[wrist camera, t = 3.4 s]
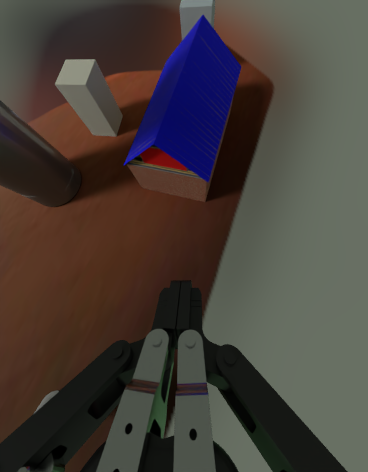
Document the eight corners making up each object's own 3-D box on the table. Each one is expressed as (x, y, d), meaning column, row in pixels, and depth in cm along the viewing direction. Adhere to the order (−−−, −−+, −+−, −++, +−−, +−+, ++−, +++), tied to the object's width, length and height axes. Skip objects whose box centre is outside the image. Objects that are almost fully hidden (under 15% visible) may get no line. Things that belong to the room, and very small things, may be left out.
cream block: (93, 135, 33) (54, 84, 24) (100, 115, 34) (65, 59, 25) (116, 136, 32) (85, 84, 24) (122, 116, 33) (95, 59, 25)
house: (140, 190, 29) (102, 135, 18) (173, 102, 33) (159, 12, 22) (206, 204, 27) (210, 154, 16) (233, 109, 31) (251, 15, 20)
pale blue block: (185, 75, 34) (179, 7, 26) (188, 58, 35) (184, -13, 27) (209, 76, 34) (211, 6, 25) (212, 58, 35) (215, -15, 26)
